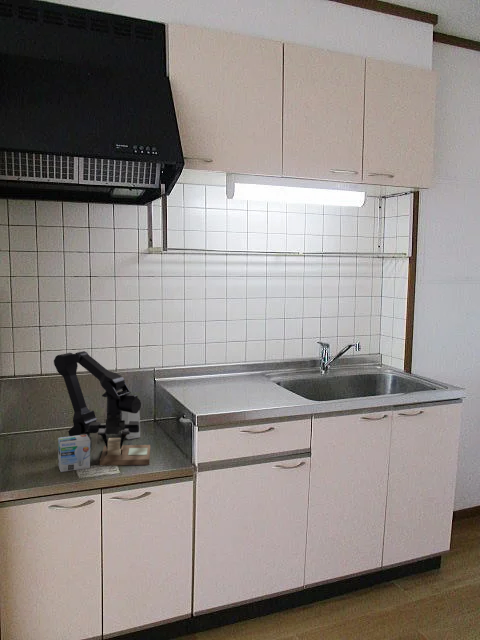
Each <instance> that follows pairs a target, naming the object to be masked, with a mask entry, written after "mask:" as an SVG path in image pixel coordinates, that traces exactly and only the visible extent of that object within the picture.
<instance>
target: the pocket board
mask: <svg viewBox="0 0 480 640" xmlns="http://www.w3.org/2000/svg"><path fill="white" fill-rule="evenodd" d="M150 457H151V444H136V445H135V444H129V445H127V444H123V445H122V448H121V455H111V456H108V449H107V448H106V445H103V449H102V452H101V455H100V458H99V466H100V465H102V466H131V465H132V466H133V465H134V466H135V465H136V466H139V465H140V466H141V465H150V459H151V458H150Z"/></svg>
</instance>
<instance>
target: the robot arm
mask: <svg viewBox="0 0 480 640" xmlns="http://www.w3.org/2000/svg"><path fill="white" fill-rule="evenodd" d="M78 364H79V366H81V367H82V368H84V370H86V371H87V372H89V373H90V374H91V375H93V376H94V377H95V378H96V379H97V380H98V381H99V383H100V386H101V387H102V388H103V390H104V391H105V392H104V393H102V395H101V396H102V397H103V398H106V418H105V419H106V420H105V424H104V423H103V424H101V423H102V422H101V421H97V420H98V419H97V417H96V412H95V411H94V410H90V409H89V408H88V407H87V403H86V400H85V397H84V394H83V392H82V387H81V384H80V381H79V378H78V375H77V371H78ZM53 365H54V368H55V370H56V371H57V373H58V374H60V376H61V377H63V381H64V383H65V387H66V389H67V393H68V396H69V399H70V402H71V405H72V409H73V412H74V413H73V417H72V423H73V424H72V425H73V426H72V427H71V428H70V429H69V430H68V436H77V435H85V434H87V435H88V437H89V439H90V450H91V449H92V447H93V446H92V438H93V437H92V436H91V434H97V435H98V436H100V437H101V438H102V439H103V441H104V444H105V445H104V446H106V448H107V449H108V439H109V437H108V435H119V434H120V432H121V431H122V434H121V437H120V438H121V442H120V449H121V448H122V445H124V441H125V439H126V435H129V434H130V433H137V432H139V427H140V428H141V422H140V423H139V422H138V421H129V424H125V420H122V411H124V412H129V413H134V414H136V413H138V412H139V411H140V410H141V407H142V402H141V400H140V398H139V397H138V394H131V390H130V388H129V386H128V385H127V383H126V381H125V378H124V377H123V376H122V375H120V374H119V373H116V372H113V371H110V370H109V369H107V368H105V367H104V366H103V365H102V363H101V364H100V362H98V361H97V360H96V359H94V358H93V356H91V355H89V353H88V351H83V350H82V351H78V352H75V353H72V352H65V353H62V354H57V355H56V356H55V358H54V360H53Z"/></svg>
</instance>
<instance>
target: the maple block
mask: <svg viewBox="0 0 480 640" xmlns="http://www.w3.org/2000/svg"><path fill="white" fill-rule="evenodd" d="M120 442H121V437H108V455H107V456H111V455H122V454H121V449H120Z"/></svg>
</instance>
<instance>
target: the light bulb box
mask: <svg viewBox="0 0 480 640" xmlns="http://www.w3.org/2000/svg"><path fill="white" fill-rule="evenodd" d="M57 439H58V440H57V445H58V446H57V452H58V453H57V457H58V458H57V462H58V463H57V465H58V469H59V470H60V471H59V472H60V473H63V472H64V473H65V472H69V471H71V472H72V471H77V470H78V471H79V470H85V469H90V468H91V449H90V439H89V437H88V435H87V434H85V435H77V436H69V435H68V436H63V437H62V436H60V437H58V438H57Z"/></svg>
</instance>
